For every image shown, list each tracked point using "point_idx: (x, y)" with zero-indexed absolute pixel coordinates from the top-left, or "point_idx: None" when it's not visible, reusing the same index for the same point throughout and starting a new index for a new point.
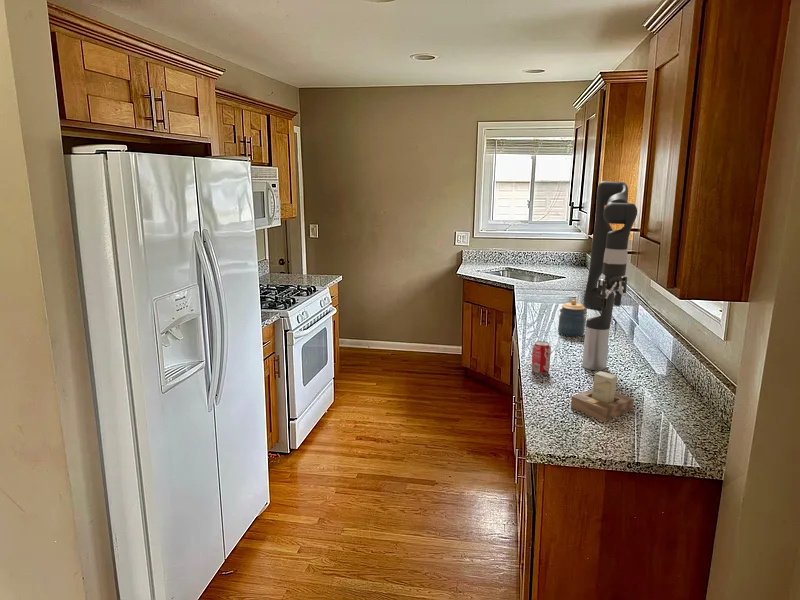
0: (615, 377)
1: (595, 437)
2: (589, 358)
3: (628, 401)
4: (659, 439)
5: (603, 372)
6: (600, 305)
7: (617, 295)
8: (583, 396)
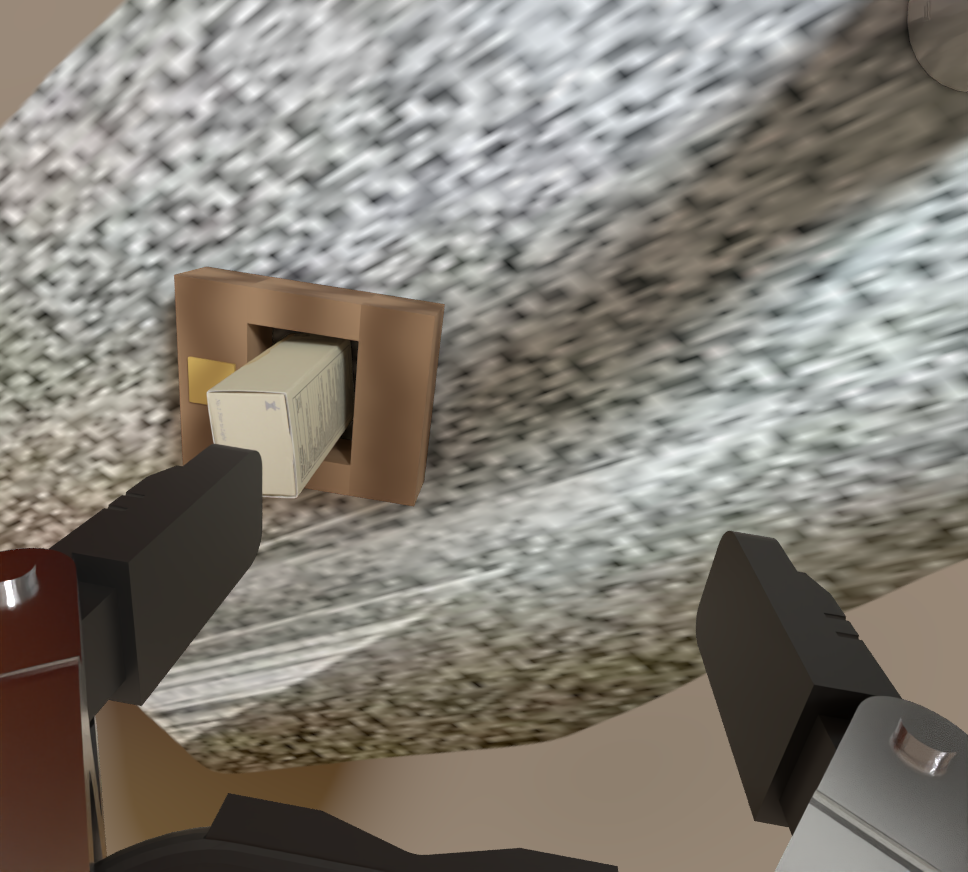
0: (271, 496)
1: (57, 476)
2: None
3: (364, 497)
4: (247, 628)
5: (278, 417)
6: (147, 490)
7: (790, 750)
8: (227, 319)
